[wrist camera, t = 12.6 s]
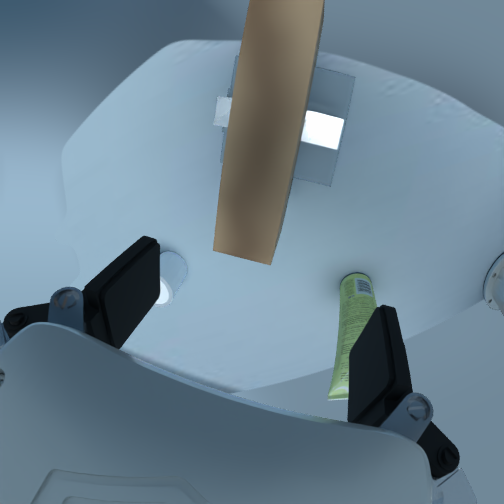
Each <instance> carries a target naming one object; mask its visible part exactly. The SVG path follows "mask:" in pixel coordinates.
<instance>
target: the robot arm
mask: <svg viewBox="0 0 504 504" xmlns="http://www.w3.org/2000/svg"><path fill="white" fill-rule="evenodd" d="M483 293H484V299H485V301H486V303H487V305H488V306H489V307H490V308H492V309H495V310H501V312H502V314H503V316H504V254H503V255H501V256H500V257H499V258H498V259H497V261H496V262H495V263H494V265H493V266H492V267H491V269H490V271H489V273H488V275H487V277H486V280H485V284H484V290H483ZM159 296H160V244H159V243H157V240H156V239H154V238H151V237H148V236H142V237H141V238H140V239H139V240H137V241H136V242H135V243H134V244H133V245H131V246H130V247H129V248H128V249H127V250H125V251H124V252H123V253H122V254H121V255H120V256H118V257H117V258H116V259H115V260H114V261H113V262H111V263H110V264H109V265H108V266H107V267H106V268H105V269H103V270H102V271H101V272H100V273H99V274H98V275H97V276H96V277H95V278H93V279H92V280H91V281H90V282H89V283H88V284H87V285H86V286H85V289H84V290H83V291H80V290H79V289H77V288H74V287H65V288H61V289H59V290H57V291H56V292H55V293H54V294H53V295H52V296H51V299H50V303H45V304H39V305H33V306H27V307H21V308H16V309H13V310H12V311H10V312H9V313H8V314H7V315H6V317H5V318H4V322H3V323H1V321H0V504H477V500H476V497H475V494H474V492H473V490H472V488H471V486H470V484H469V482H468V480H467V478H466V475H465V473H464V471H463V470H462V468H460V469H458V467H457V466H458V464H459V460H460V456H459V452H458V449H457V448H456V446H455V445H454V444H453V443H452V442H451V441H450V440H449V439H448V438H447V437H446V436H445V435H444V434H443V433H442V432H441V431H440V430H439V429H438V428H437V427H436V425H434V423H432V421H431V420H432V417H433V407H432V404H431V402H430V401H429V399H428V398H427V397H425V396H424V395H423V394H420V393H413V390H412V384H411V378H410V371H409V366H408V360H407V355H406V350H405V345H404V343H403V339H402V335H401V330H400V326H399V321H398V317H397V313H396V309H395V308H394V307H390V306H386V305H381V306H380V307H376V309H375V310H374V312H373V314H372V315H371V317H370V319H369V321H368V322H367V324H366V326H365V327H364V329H363V331H362V332H361V334H360V336H359V337H358V339H357V340H356V342H355V344H354V345H353V347H352V348H351V350H350V353H349V394H348V419H347V420H348V422H343V421H338V420H332V419H327V418H322V417H317V416H312V415H307V414H303V413H298V412H294V411H289V410H285V409H281V408H277V407H273V406H269V405H266V404H262V403H258V402H255V401H251V400H248V399H245V398H241V397H238V396H234V395H232V394H228V393H225V392H222V391H219V390H216V389H213V388H210V387H208V386H205V385H202V384H199V383H196V382H194V381H191V380H188V379H186V378H183V377H181V376H178V375H175V374H173V373H170V372H168V371H166V370H163V369H161V368H158V367H156V366H154V365H151V364H149V363H147V362H145V361H142V360H140V359H138V358H136V357H134V356H131V355H129V354H127V353H125V352H123V351H121V350H119V349H120V348H121V347H122V345H123V344H124V343H125V341H126V340H127V339H128V337H129V336H130V335H131V333H132V332H133V331H134V330H135V328H136V327H137V326H138V324H139V323H140V322H141V320H142V319H143V318H144V317H145V315H146V314H147V313H148V311H149V310H150V309H151V308H152V306H153V305H154V304H155V303H156V301H157V300H158V299H159Z"/></svg>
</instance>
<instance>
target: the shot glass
mask: <svg viewBox="0 0 504 504" xmlns="http://www.w3.org/2000/svg"><path fill="white" fill-rule="evenodd" d="M186 274H187V266H186V263H185V261H184V260H183V259H182V257H181V256H179V255H178V254H176V253H174V252H171V251H167V252H163V253H162V254H160V296H159V299H158V300H157V301H156V303H155V304H154V305H153V306H156V307H166V306H168V305H170V304H171V302H172V300H173V298H174V297H175V295H176V293H177V291H178V289H179V287H180V285H181V283H182V282H183V280H184V278H185V276H186Z"/></svg>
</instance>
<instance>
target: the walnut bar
mask: <svg viewBox="0 0 504 504" xmlns="http://www.w3.org/2000/svg"><path fill="white" fill-rule="evenodd" d="M324 1H325V0H250V2H249V7H248V12H247V17H246V22H245V27H244V33H243V38H242V43H241V49H240V54H239V60H238V66H237V71H236V77H235V83H234V90H233V96H232V102H231V109H230V116H229V122H228V129H227V136H226V144H225V151H224V158H223V166H222V174H221V182H220V190H219V199H218V208H217V217H216V226H215V236H214V246H213V251H216V252H220V253H224V254H228V255H232V256H236V257H240V258H244V259H248V260H252V261H255V262H259V263H263V264H267V265H271V262H272V259H273V256H274V253H275V249H276V246H277V243H278V240H279V236H280V233H281V229H282V225H283V221H284V216H285V212H286V207H287V203H288V198H289V194H290V189H291V185H292V180H293V175H294V171H295V166H296V161H297V156H298V152H299V147H300V142H301V137H302V132H303V127H304V122H305V117H306V112H307V107H308V102H309V97H310V92H311V87H312V81H313V76H314V71H315V65H316V60H317V54H318V49H319V43H320V37H321V31H322V25H323V18H324Z"/></svg>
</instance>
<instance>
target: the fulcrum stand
mask: <svg viewBox="0 0 504 504" xmlns="http://www.w3.org/2000/svg"><path fill="white" fill-rule="evenodd" d="M238 60H239V56H236V58H235V64H234V70H233V76H232V82H231V88H228V94H227V97H221V96H218V98H217V105H216V112H215V119H214V125H215V126H223V128H222V132H224V136H223V143H222V151H221V159H220V162H221V163H223V158H224V151H225V144H226V136H227V129H228V122H229V116H230V109H231V102H232V96H233V90H234V83H235V77H236V71H237V66H238ZM354 81H355V77H353V76H350V75H346V74H343V73H339V72H335V71H331V70H326V69H322V68H318V67H315V71H314V76H313V81H312V87H311V92H310V97H309V102H308V107H307V112H306V117H305V122H304V127H303V132H302V137H301V142H300V147H299V152H298V156H297V161H296V166H295V171H294V175H293V177H294V178H298V179H302V180H306V181H310V182H314V183H318V184H322V185H326V186H331V182H332V178H333V175H334V171H335V167H336V163H337V158H338V154H339V150H340V146H341V142H342V137H343V133H344V129H345V124H346V120H347V115H348V110H349V106H350V101H351V96H352V91H353V86H354Z"/></svg>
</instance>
